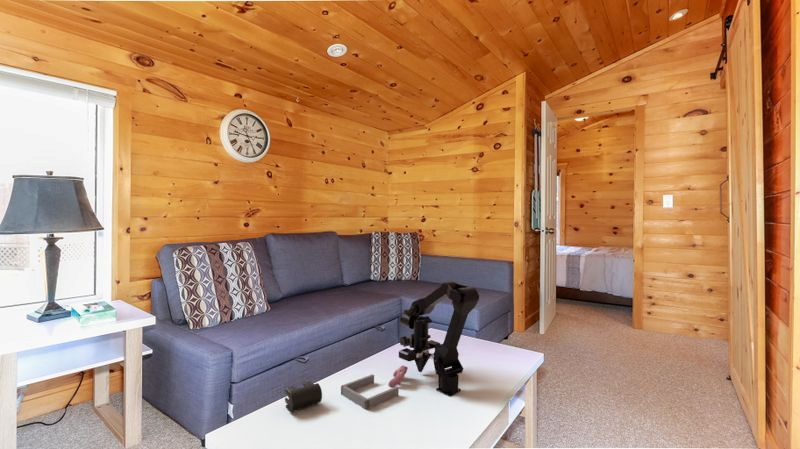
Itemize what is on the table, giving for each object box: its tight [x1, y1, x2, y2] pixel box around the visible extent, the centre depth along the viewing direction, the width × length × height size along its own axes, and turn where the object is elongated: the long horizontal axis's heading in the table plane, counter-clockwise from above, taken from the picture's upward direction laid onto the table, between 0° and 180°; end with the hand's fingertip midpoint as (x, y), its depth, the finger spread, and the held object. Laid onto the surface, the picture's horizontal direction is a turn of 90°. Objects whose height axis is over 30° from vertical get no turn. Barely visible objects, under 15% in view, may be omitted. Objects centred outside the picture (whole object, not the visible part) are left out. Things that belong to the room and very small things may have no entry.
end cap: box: [284, 381, 323, 413], centre depth 123 cm, size 10×7×7 cm
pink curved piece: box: [388, 365, 409, 388], centre depth 142 cm, size 10×5×7 cm, turn 169°
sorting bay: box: [340, 374, 400, 411], centre depth 132 cm, size 14×14×3 cm
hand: (420, 371), depth 149 cm, fingers closed
